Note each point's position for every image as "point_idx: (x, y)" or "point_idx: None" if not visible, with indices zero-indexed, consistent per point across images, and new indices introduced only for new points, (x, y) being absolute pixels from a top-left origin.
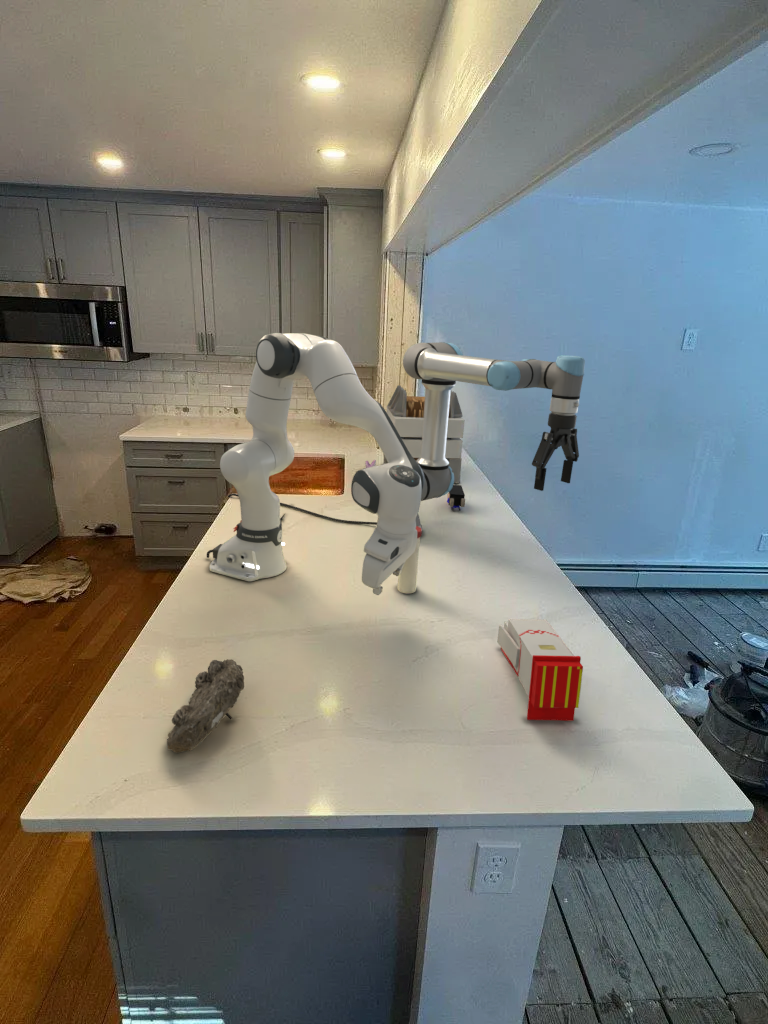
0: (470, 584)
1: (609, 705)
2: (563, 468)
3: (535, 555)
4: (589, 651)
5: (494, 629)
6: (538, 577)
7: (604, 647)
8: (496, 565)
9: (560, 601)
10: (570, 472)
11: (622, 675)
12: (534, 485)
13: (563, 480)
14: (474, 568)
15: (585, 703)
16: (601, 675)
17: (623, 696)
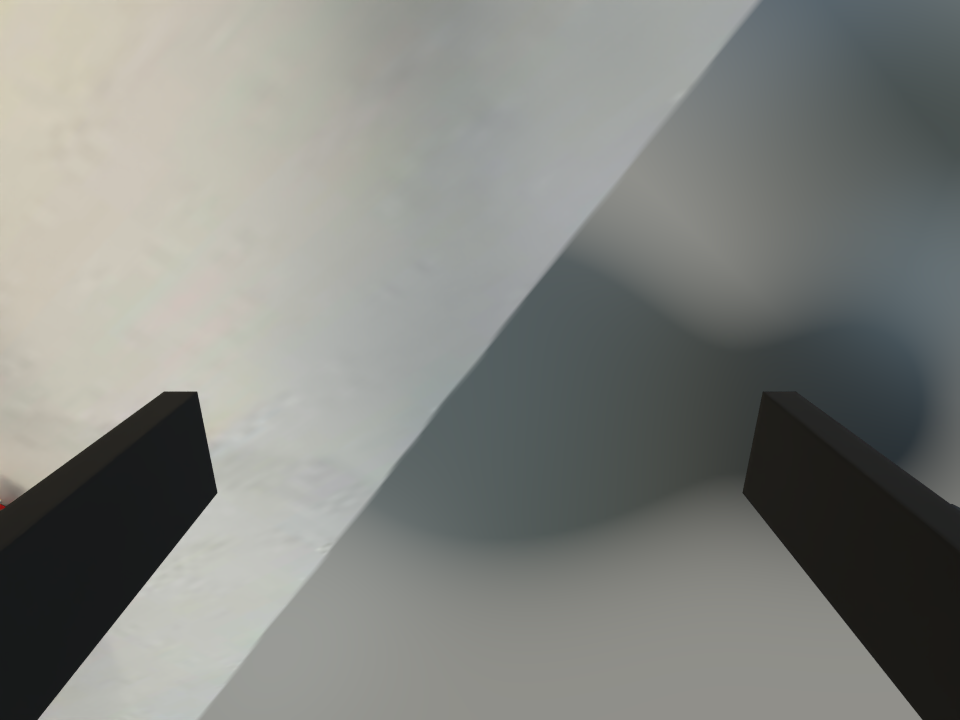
0: (131, 145)
1: (73, 705)
2: (884, 510)
3: (630, 126)
4: (193, 606)
5: (16, 413)
6: (437, 279)
7: (243, 616)
8: (374, 81)
9: (347, 432)
10: (831, 597)
11: (184, 681)
12: (139, 413)
13: (765, 435)
14: (254, 35)
15: None
16: (140, 659)
17: (124, 708)
